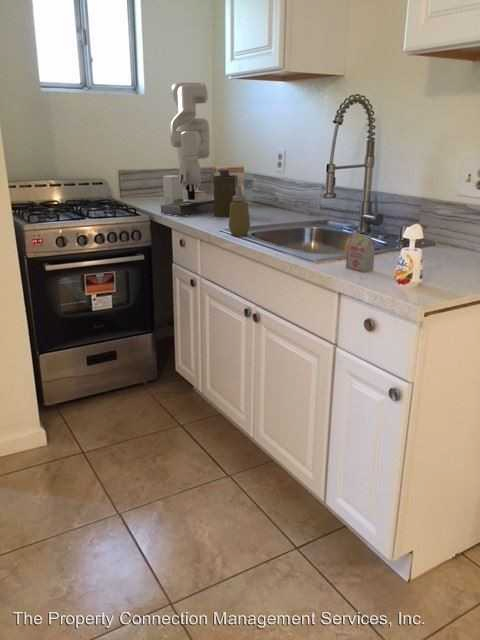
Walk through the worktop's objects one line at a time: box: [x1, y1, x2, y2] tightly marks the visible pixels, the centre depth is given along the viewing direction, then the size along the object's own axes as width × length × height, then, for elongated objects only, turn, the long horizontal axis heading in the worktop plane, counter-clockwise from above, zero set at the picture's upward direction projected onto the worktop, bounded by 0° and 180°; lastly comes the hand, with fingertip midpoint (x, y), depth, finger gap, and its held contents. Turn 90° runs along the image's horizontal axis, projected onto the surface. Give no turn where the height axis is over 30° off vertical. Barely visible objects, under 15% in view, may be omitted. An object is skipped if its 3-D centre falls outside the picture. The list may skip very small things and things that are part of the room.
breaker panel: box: [160, 199, 214, 217], centre depth 260 cm, size 24×14×5 cm, turn 137°
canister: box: [212, 170, 238, 218], centre depth 247 cm, size 11×10×20 cm
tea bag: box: [345, 232, 375, 274], centre depth 153 cm, size 4×7×10 cm, turn 36°
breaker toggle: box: [191, 190, 207, 202], centre depth 262 cm, size 4×6×5 cm
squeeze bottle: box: [228, 186, 251, 237], centre depth 201 cm, size 8×8×18 cm
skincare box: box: [162, 175, 183, 205], centre depth 274 cm, size 8×7×16 cm
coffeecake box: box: [213, 165, 245, 196], centre depth 280 cm, size 15×7×20 cm, turn 92°
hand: (191, 199), depth 259 cm, fingers closed
